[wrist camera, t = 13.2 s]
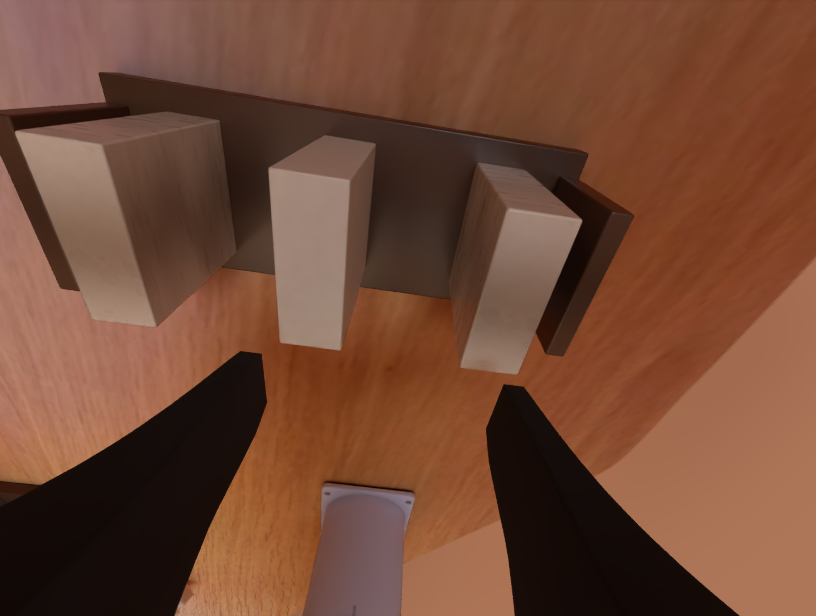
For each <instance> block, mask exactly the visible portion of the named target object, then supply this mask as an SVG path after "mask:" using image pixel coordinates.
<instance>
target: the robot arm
mask: <svg viewBox="0 0 816 616" xmlns="http://www.w3.org/2000/svg"><path fill="white" fill-rule="evenodd" d="M266 404H267V399H266V389H265V380H264V371H263V362H262V354H259V353H251V352H243V351H240V352H239V353H237V354H236V355H235V356H233V357H232V358H231V359H229V360H228V361H227V362H226V363H224V364H223V365H222V366H221V367H219V368H218V369H217V370H215V371H214V372H213V373H212V374H210V375H209V376H208V377H207V378H205V379H204V380H203V381H201V382H200V383H199V384H198V385H196V386H195V387H194V388H192V389H191V390H190V391H188V392H187V393H186V394H184V395H183V396H182V397H180V398H179V399H178V400H176V401H175V402H174V403H172V404H171V405H170V406H168V407H167V408H165V409H164V410H163V411H161V412H160V413H158V414H157V415H155V416H154V417H153V418H151V419H150V420H148V421H147V422H145V423H144V424H142V425H141V426H140V427H138V428H137V429H135V430H134V431H132V432H131V433H129V434H128V435H126V436H125V437H123V438H121V439H120V440H118V441H117V442H115V443H114V444H112V445H110V446H109V447H107V448H106V449H104V450H102V451H101V452H99V453H97V454H96V455H94V456H92V457H91V458H89V459H87V460H86V461H84V462H82V463H80V464H79V465H77V466H75V467H73V468H72V469H70V470H68V471H66V472H64V473H62V474H61V475H59V476H57V477H55V478H53V479H51V480H50V481H48V482H46V483H44V484H42V485H40V486H39V487H37V488H35V489H33V490H31V491H29V492H28V493H26V494H24V495H22V496H20V497H18V498H16V499H14V500H12V501H10V502H8V503H6V504H4V505H2V506H0V616H175V613H176V610H177V608H178V605H179V603H180V600H181V597H182V595H183V592H184V589H185V587H186V584H187V582H188V579H189V576H190V574H191V571H192V569H193V566H194V564H195V561H196V559H197V556H198V554H199V551H200V549H201V546H202V544H203V541H204V539H205V536H206V534H207V531H208V529H209V527H210V524H211V522H212V520H213V518H214V516H215V514H216V512H217V509H218V508H219V506H220V504H221V502H222V500H223V498H224V496H225V494H226V492H227V490H228V488H229V486H230V484H231V482H232V480H233V478H234V476H235V474H236V472H237V470H238V468H239V466H240V464H241V462H242V460H243V458H244V456H245V454H246V452H247V450H248V448H249V446H250V444H251V442H252V440H253V438H254V436H255V434H256V431H257V429H258V426H259V424H260V421H261V418H262V415H263V412H264V410H265V407H266ZM486 434H487V447H488V458H489V465H490V470H491V475H492V480H493V485H494V490H495V494H496V499H497V504H498V509H499V513H500V518H501V523H502V528H503V532H504V537H505V542H506V548H507V554H508V559H509V568H510V577H511V585H512V594H513V603H514V612H515V616H739V615H738V614H737V613H736V612H734V611H733V610H732V609H731V608H730V607H728V606H727V605H726V604H725V603H724V602H723V601H721V600H720V599H719V598H718V597H717V596H715V595H714V594H713V593H712V592H710V590H708V589H707V588H706V587H705V586H704V585H703V584H701V583H700V582H699V581H698V580H697V579H696V578H695V577H693V576H692V575H691V574H690V573H689V572H688V571H687V570H686V569H684V568H683V567H682V566H681V565H680V564H679V563H678V562H677V561H676V560H675V559H674V558H673V557H671V556H670V555H669V554H668V553H667V552H666V551H665V550H664V549H663V548H662V547H660V545H659V544H657V543H656V542H655V541H654V540H653V539H652V538H651V537H650V536H649V535H648V534H647V533H646V532H645V531H644V530H643V529H642V528H641V527H640V526H639V525H638V524H637V523H636V522H635V521H634V520H633V519H632V518H631V517H630V516H629V515H628V514H627V513H626V512H625V511H624V510H623V509H622V508H621V506H620V505H618V503H617V502H616V501H615V500H614V499H613V498H612V497H611V496H610V495H609V494H608V493H607V492H606V491H605V490H604V488H603V487H602V486H601V485H600V484H599V483H598V481H597V480H596V479H595V478H594V477H593V476H592V474H591V473H590V472H589V471H588V470H587V469H586V467H585V466H584V465H583V464H582V463H581V461H580V460H579V459H578V458H577V457H576V455H575V454H574V453H573V452H572V450H571V449H570V448H569V447H568V445H567V444H566V443H565V442H564V440H563V439H562V438H561V436H560V435H559V434H558V432H557V431H556V430H555V429H554V427H553V426H552V425H551V423H550V422H549V421H548V419H547V418H546V416H545V415H544V414H543V412H542V411H541V410H540V408H539V407H538V406H537V404H536V403H535V402H534V400H533V399H532V397H531V396H530V395H529V393H528V392H527V391H526V389H525V388H524V387H521V386H513V385H505V384H504V385H503V387H502V390H501V392H500V395H499V397H498V400H497V402H496V405H495V408H494V410H493V413H492V415H491V418H490V420H489V423H488V425H487V428H486ZM414 500H415V495H414V494H413V493H412V492H404V491H395V490H387V489H378V488H369V487H360V486H351V485H342V484H333V483H325V484H323V486H322V497H321V534H320V538H319V543H318V547H317V552H316V557H315V561H314V566H313V570H312V575H311V579H310V584H309V588H308V593H307V597H306V602H305V606H304V611H303V615H302V616H401V600H402V574H403V549H404V535H405V532H406V528H407V525H408V521H409V518H410V514H411V511H412V507H413V504H414Z"/></svg>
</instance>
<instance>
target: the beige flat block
mask: <svg viewBox="0 0 816 616" xmlns="http://www.w3.org/2000/svg"><path fill="white" fill-rule="evenodd" d="M375 151H376V144H375V143H370V142H363V141H357V140H351V139H345V138H339V137H333V136H327V135H325V136H323V137H321V138H319V139H317V140H316V141H314V142H312V143H310V144H309V145H307V146H305V147H304V148H302V149H300V150H298V151H297V152H295V153H293V154H291V155H290V156H288V157H286V158H285V159H283V160H281V161H279V162H278V163H276V164H274V165H272V166H271V167H269V169H268V172H269V187H270V202H271V217H272V232H273V247H274V262H275V277H276V292H277V307H278V322H279V338H280V342H281V343H286V344H294V345H301V346H309V347H317V348H324V349H332V350H341V349H342V345H343V342H344V339H345V335H346V332H347V328H348V325H349V322H350V318H351V315H352V312H353V308H354V305H355V301H356V298H357V295H358V291H359V288H360V285H361V281H362V278H363V274H364V271H365V264H366V253H367V242H368V230H369V219H370V208H371V196H372V185H373V174H374V162H375Z"/></svg>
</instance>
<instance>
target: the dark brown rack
mask: <svg viewBox="0 0 816 616" xmlns="http://www.w3.org/2000/svg"><path fill="white" fill-rule="evenodd" d="M99 77H100V81H101V85H102V88H103V92H104V95H105V99H106V102H103V103H90V104H76V105H62V106H48V107H35V108H21V109H7V110H0V155H1V157H2V160H3V162H4V164H5V166H6V168H7V171H8V173H9V175H10V177H11V180H12V182H13V184H14V186H15V189H16V191H17V193H18V195H19V197H20V200H21V202H22V204H23V206H24V209H25V211H26V213H27V215H28V217H29V220H30V222H31V224H32V226H33V229H34V231H35V233H36V235H37V237H38V240H39V242H40V244H41V246H42V249H43V251H44V253H45V255H46V257H47V260H48V262H49V264H50V266H51V269H52V271H53V273H54V275H55V277H56V280H57V282H58V284H59V286H60V288H61V289H66V290H74V291H81V294H82V296H83V298H84V301H85V303H86V306H87V308H88V310H89V313H90V315H91V318H92V319H93V320H99V321H107V322H115V323H122V324H130V325H137V326H145V327H153V328H156V327H158V326H159V325H160V324H161V323H162V322H163V321H164V320H165V319H166V318H167V317H168V316H169V315H170V314H171V313H173V312H174V311H175V310H176V309H177V308H178V307H179V306H180V305H181V304H182V303H183V302H184V301H185V300H186V299H187V298H189V297H190V296H191V295H192V294H193V293H194V292H195V291H196V290H197V289H198V288H199V287H200V286H201V285H202V284H203V283H205V282H206V281H207V280H208V279H209V278H210V277H211V276H212V275H213V274H214V273H215V272H216V271H217V270H218V269H219V268H221V267H224V268H231V269H238V270H245V271H252V272H259V273H266V274H273V275H275V262H274V247H273V232H272V217H271V202H270V187H269V172H268V169H269V167H271V166H272V165H274V164H276V163H278V162H279V161H281V160H283V159H285V158H286V157H288V156H290V155H291V154H293V153H295V152H297V151H298V150H300V149H302V148H304V147H305V146H307V145H309V144H310V143H312V142H314V141H316V140H317V139H319V138H321V137H323V136H325V135H327V136H333V137H339V138H345V139H351V140H357V141H363V142H370V143H375V144H376V151H375V162H374V174H373V185H372V196H371V208H370V219H369V230H368V242H367V253H366V264H365V271H364V274H363V278H362V281H361V285H360V287H365V288H372V289H379V290H386V291H393V292H400V293H407V294H415V295H422V296H429V297H436V298H443V299H450V300H451V306H452V313H453V321H454V328H455V336H456V343H457V351H458V358H459V365H460V367H461V368H466V369H474V370H481V371H489V372H497V373H504V374H512V375H517V374H518V371H519V369H520V367H521V364H522V362H523V360H524V357H525V355H526V353H527V350H528V348H529V346H530V343H531V341H532V339H533V336H534V334H535V332H536V334H537V336H538V339H539V341H540V343H541V345H542V347H543V350H544V352H545V354H547V355H555V356H564V354H565V353H566V351H567V349H568V347H569V345H570V343H571V341H572V339H573V337H574V335H575V333H576V331H577V329H578V327H579V325H580V323H581V321H582V319H583V317H584V315H585V313H586V311H587V309H588V307H589V305H590V303H591V301H592V299H593V297H594V295H595V293H596V291H597V289H598V287H599V285H600V283H601V281H602V279H603V277H604V275H605V273H606V271H607V269H608V267H609V265H610V263H611V261H612V259H613V257H614V255H615V253H616V251H617V249H618V247H619V245H620V243H621V242H622V240H623V238H624V236H625V234H626V232H627V230H628V228H629V226H630V224H631V222H632V220H633V218H634V215H633V214H632V213H630V212H629V211H627V210H626V209H624V208H623V207H621V206H619V205H618V204H616V203H615V202H613V201H612V200H610V199H608V198H607V197H605V196H604V195H602V194H601V193H599V192H597V191H596V190H594V189H593V188H591V187H590V186H588V185H586V184H585V183H583V182H582V181H580V180H579V178H580V175H581V173H582V170H583V168H584V165H585V163H586V160H587V158H588V153H585V152H583V151H581V150H577V149H571V148H565V147H559V146H553V145H547V144H541V143H535V142H529V141H523V140H517V139H511V138H505V137H499V136H493V135H487V134H481V133H475V132H469V131H463V130H457V129H451V128H445V127H439V126H433V125H427V124H421V123H415V122H409V121H403V120H397V119H391V118H385V117H379V116H373V115H367V114H361V113H355V112H349V111H343V110H337V109H331V108H325V107H319V106H313V105H307V104H301V103H295V102H289V101H283V100H277V99H271V98H265V97H259V96H253V95H247V94H241V93H235V92H229V91H223V90H217V89H211V88H205V87H199V86H193V85H187V84H181V83H175V82H169V81H163V80H157V79H151V78H145V77H139V76H133V75H127V74H121V73H110V72H100V73H99Z"/></svg>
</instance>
